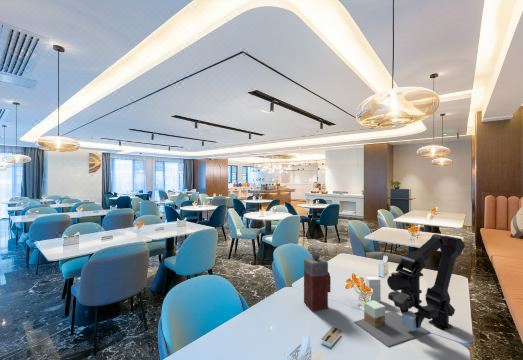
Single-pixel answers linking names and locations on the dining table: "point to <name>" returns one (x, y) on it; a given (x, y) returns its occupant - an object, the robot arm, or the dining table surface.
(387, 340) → the placemat
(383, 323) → the tower base
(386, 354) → the dining table surface
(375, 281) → the skincare box
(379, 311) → the tower mid
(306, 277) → the dark red bottle
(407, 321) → the cube
